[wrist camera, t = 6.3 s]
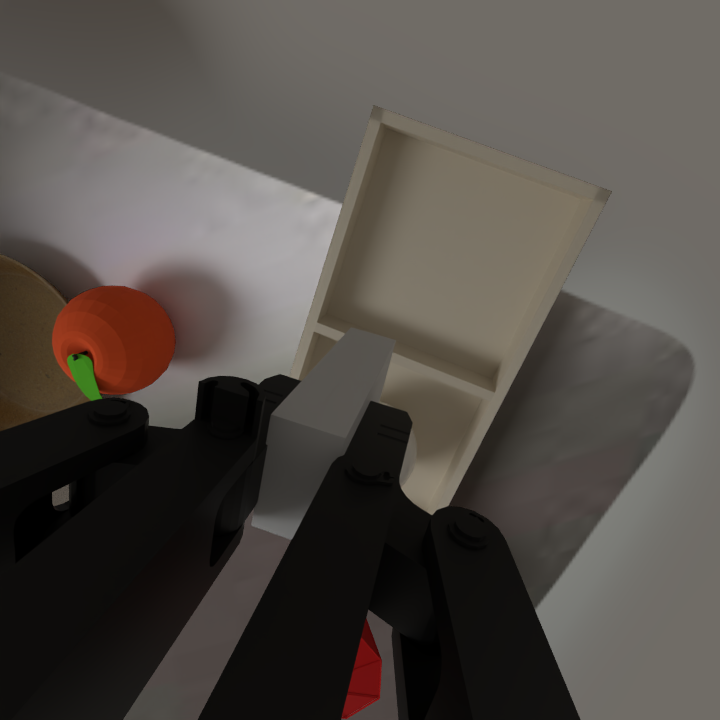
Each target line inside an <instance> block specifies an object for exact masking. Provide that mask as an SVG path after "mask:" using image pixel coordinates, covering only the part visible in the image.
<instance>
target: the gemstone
mask: <svg viewBox="0 0 720 720" xmlns="http://www.w3.org/2000/svg"><path fill="white" fill-rule="evenodd" d="M381 667H382V660H381V657H380V654H379V652H378V649H377V646H376V643H375V641H374V638H373V635H372V633H371V630H370V627H369V624H368V622H367V619H366V620H365V624H364V629H363V633H362V637H361V641H360V645H359V649H358V653H357V657H356V661H355V665H354V669H353V673H352V677H351V681H350V685H349V689H348V693H347V697H346V701H345V705H344V709H343V713H342V716H343V717H341V718H343V719H347V718H349V717H350V716H352V715H354V714H355V713H357V712H359V711H360V710H362V709H364V708H365V707H367V706H369V705H370V704H372V703H374V702H375V701H377V700H378V699H380V685H381ZM379 677H380V678H379ZM376 698H377V699H376ZM374 699H375V700H374ZM372 700H374V701H372ZM371 701H372V702H371ZM369 702H370V703H369ZM367 703H369V704H367ZM366 704H367V705H366ZM364 705H365V706H364ZM363 706H364V707H363ZM361 707H362V708H361ZM359 708H360V709H359ZM358 709H359V710H358ZM356 710H357V711H356ZM354 711H356V712H354ZM353 712H354V713H353ZM351 713H352V714H351ZM349 714H351V715H349ZM348 715H349V716H348Z"/></svg>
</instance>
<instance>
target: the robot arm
mask: <svg viewBox="0 0 720 720" xmlns="http://www.w3.org/2000/svg"><path fill="white" fill-rule="evenodd" d="M395 342H396V340H394V339H390V338H387V337H383V336H380V335H377V334H373V333H370V332H366V331H363V330H359V329H356V328H352V327H351V328H350V329H349V330H348V331H347V332H346V333H345V334H344V335H343V337H342V338H341V339H340V340H339V341H338V342H337V343H336V344H335V345H334V346H333V347H332V349H331V350H330V351H329V352H328V353H327V354H326V355H325V356H324V357H323V358H322V359H321V360H320V362H319V363H318V364H317V365H316V366H315V367H314V368H313V369H312V370H311V371H310V372H309V374H308V375H307V376H306V377H305V378H304V379H303V380H302V381H300V380H297V379H294V378H291V377H287V376H284V375H281V374H279V375H276V376H273V377H270V378H266V379H264V380H263V381H262V382H261V383H260V384H259V385H258V384H256V383H254V382H251V381H249V380H247V379H243V378H238V377H233V376H216V377H209V378H206V379H204V380H202V381H199V385H198V394H197V404H196V413H195V419H194V420H193V421H192V422H190V423H189V424H188V425H187V426H185V427H184V428H183V429H172V428H164V427H156V426H148V424H149V415H148V411H147V409H146V408H145V407H143V406H142V405H141V404H139V403H136V402H133V401H131V400H127V399H120V398H106V399H97V400H93V401H88V402H85V403H82V404H79V405H76V406H73V407H70V408H67V409H64V410H61V411H58V412H55V413H52V414H49V415H47V416H44V417H41V418H38V419H35V420H32V421H29V422H26V423H23V424H20V425H17V426H14V427H11V428H8V429H5V430H2V431H0V720H123V719H124V717H125V716H126V714H127V713H128V711H129V709H130V708H131V706H132V705H133V703H134V702H135V700H136V699H137V697H138V696H139V694H140V693H141V691H142V690H143V688H144V687H145V685H146V684H147V682H148V681H149V679H150V678H151V676H152V675H153V673H154V672H155V670H156V669H157V667H158V666H159V664H160V663H161V661H162V660H163V658H164V657H165V655H166V654H167V652H168V651H169V649H170V647H171V646H172V644H173V643H174V641H175V640H176V638H177V637H178V635H179V634H180V632H181V631H182V629H183V628H184V626H185V625H186V623H187V622H188V620H189V619H190V617H191V616H192V614H193V613H194V611H195V610H196V608H197V607H198V605H199V604H200V602H201V601H202V599H203V598H204V596H205V595H206V593H207V592H208V590H209V589H210V587H211V585H212V584H213V582H214V581H215V579H216V578H217V576H218V575H219V573H220V572H221V570H222V569H223V567H224V566H225V564H226V563H227V561H228V560H229V558H230V557H231V555H232V554H233V552H234V551H235V549H236V548H237V546H238V545H239V543H240V540H241V538H242V535H243V529H244V523H245V520H246V518H247V517H248V515H249V514H250V513H251V511H252V510H253V508H254V507H255V508H254V514H253V519H252V525H251V526H254V527H256V528H259V529H262V530H265V531H268V532H271V533H273V534H276V535H279V536H282V537H285V538H288V539H290V540H291V542H290V544H289V546H288V548H287V550H286V552H285V554H284V556H283V558H282V559H281V561H280V563H279V565H278V567H277V569H276V571H275V573H274V575H273V577H272V579H271V580H270V582H269V584H268V586H267V588H266V590H265V592H264V594H263V596H262V598H261V600H260V602H259V603H258V605H257V607H256V609H255V611H254V613H253V615H252V617H251V619H250V621H249V623H248V624H247V626H246V628H245V630H244V632H243V634H242V636H241V638H240V640H239V642H238V644H237V645H236V647H235V649H234V651H233V653H232V655H231V657H230V659H229V661H228V663H227V665H226V666H225V668H224V670H223V672H222V674H221V676H220V678H219V680H218V682H217V684H216V686H215V688H214V689H213V691H212V693H211V695H210V697H209V699H208V701H207V703H206V705H205V707H204V709H203V710H202V712H201V714H200V716H199V718H198V720H341V717H342V713H343V709H344V705H345V701H346V697H347V693H348V689H349V685H350V681H351V677H352V673H353V669H354V665H355V661H356V657H357V653H358V649H359V645H360V641H361V637H362V633H363V629H364V624H365V620H366V616H367V612H368V609H369V610H370V611H371V612H373V613H374V614H375V615H377V616H378V617H380V618H381V619H382V620H384V621H385V622H386V623H388V624H389V625H391V626H392V627H393V629H392V646H393V658H394V670H395V682H396V694H397V706H398V718H399V720H580V717H579V716H578V713H577V710H576V708H575V705H574V703H573V701H572V698H571V696H570V693H569V691H568V689H567V686H566V684H565V681H564V679H563V677H562V675H561V672H560V669H559V667H558V665H557V662H556V660H555V657H554V655H553V653H552V650H551V648H550V646H549V643H548V641H547V638H546V636H545V633H544V631H543V629H542V626H541V624H540V622H539V619H538V617H537V614H536V612H535V609H534V607H533V605H532V602H531V600H530V597H529V595H528V592H527V590H526V588H525V585H524V583H523V580H522V578H521V576H520V573H519V571H518V568H517V566H516V564H515V561H514V559H513V556H512V554H511V552H510V549H509V547H508V544H507V542H506V540H505V538H504V536H503V535H502V533H501V532H500V530H499V529H498V528H497V527H496V526H495V525H494V524H493V523H492V522H491V521H489V520H488V519H487V518H485V517H484V516H482V515H480V514H478V513H476V512H475V511H472V510H469V509H465V508H462V507H450V506H447V507H444V508H441V509H438V510H436V512H435V513H434V514H433V515H431V514H429V513H428V512H426V511H424V510H423V509H421V508H420V507H418V506H417V505H415V504H414V503H413V502H412V501H411V500H410V499H409V498H408V497H407V496H406V495H405V494H404V492H403V491H402V489H401V486H400V483H399V480H400V473H401V469H402V465H403V461H404V457H405V453H406V449H407V445H408V441H409V437H410V432H411V428H412V424H413V422H412V420H411V418H410V416H409V414H408V412H406V411H403V410H400V409H396V408H393V407H390V406H387V405H383V404H380V403H379V401H380V397H381V394H382V390H383V386H384V383H385V379H386V375H387V372H388V368H389V364H390V360H391V357H392V353H393V349H394V346H395ZM68 484H69V501H67V502H65V503H63V504H60V505H57V506H53V504H52V492H53V491H55V490H58V489H60V488H62V487H64V486H66V485H68Z"/></svg>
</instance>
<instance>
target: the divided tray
mask: <svg viewBox="0 0 720 720" xmlns="http://www.w3.org/2000/svg"><path fill="white" fill-rule="evenodd" d="M611 192H612V191H610V190H607V189H604V188H601V187H598V186H596V185H593V184H590V183H588V182H585V181H582V180H579V179H576V178H573V177H571V176H568V175H565V174H562V173H560V172H557V171H554V170H551V169H549V168H546V167H543V166H540V165H538V164H535V163H532V162H529V161H527V160H524V159H521V158H518V157H516V156H513V155H510V154H507V153H505V152H502V151H499V150H496V149H494V148H491V147H488V146H485V145H483V144H480V143H477V142H474V141H471V140H469V139H466V138H463V137H460V136H458V135H455V134H452V133H449V132H447V131H444V130H441V129H438V128H436V127H433V126H430V125H427V124H424V123H422V122H419V121H416V120H413V119H410V118H408V117H405V116H402V115H400V114H397V113H394V112H391V111H388V110H386V109H383V108H380V107H378V106H375V105H374V106H373V109H372V112H371V116H370V119H369V122H368V125H367V128H366V132H365V135H364V138H363V141H362V144H361V148H360V151H359V154H358V157H357V160H356V164H355V167H354V170H353V173H352V177H351V180H350V183H349V186H348V189H347V193H346V196H345V199H344V202H343V205H342V209H341V212H340V215H339V218H338V221H337V225H336V228H335V231H334V234H333V238H332V241H331V244H330V247H329V250H328V254H327V257H326V260H325V263H324V266H323V270H322V273H321V276H320V279H319V283H318V286H317V289H316V292H315V295H314V299H313V302H312V305H311V308H310V311H309V315H308V318H307V321H306V324H305V327H304V331H303V334H302V337H301V340H300V344H299V347H298V350H297V353H296V356H295V360H294V363H293V366H292V369H291V372H290V376H289V377H291V378H294V379H297V380H300V381H302V380H303V379H304V378H305V377H306V376H307V375H308V374H309V372H310V371H311V370H312V369H313V368H314V367H315V366H316V365H317V364H318V363H319V362H320V360H321V359H322V358H323V357H324V356H325V355H326V354H327V353H328V352H329V351H330V350H331V349H332V347H333V346H334V345H335V344H336V343H337V342H338V341H339V340H340V339H341V338H342V337H343V335H344V334H345V333H346V332H347V331H348V330H349V329H350V328H351V327H352V328H356V329H359V330H363V331H366V332H370V333H373V334H377V335H380V336H383V337H387V338H390V339H394V340H396V342H395V346H394V349H393V353H392V357H391V360H390V364H389V368H388V372H387V375H386V379H385V383H384V386H383V390H382V394H381V397H380V401H381V402H384V403H387V404H389V405H391V406H393V407H394V408H396V409H400V410H403V411H406V412H408V414H409V416H410V418H411V420H412V422H413V424H412V429H413V431H414V434H415V438H416V442H417V458H416V463H415V466H414V469H413V471H412V473H411V475H410V477H409V478H408V480H407V481H406V482H405V484H404V485H403V486H402V487H401V489H402V491H403V492H404V494H405V495H406V496H407V497H408V498H409V499H410V500H411V501H412V502H413V503H414V504H415V505H417V506H418V507H420V508H421V509H423V510H424V511H426V512H428V513H429V514H431V515H433V514H434V513H435V512H436V510H438V509H441V508H444V507H447V506H448V505H449V504H450V502H451V500H452V498H453V496H454V494H455V492H456V490H457V488H458V486H459V484H460V482H461V480H462V479H463V477H464V475H465V473H466V471H467V469H468V467H469V465H470V463H471V461H472V459H473V457H474V456H475V454H476V452H477V450H478V448H479V446H480V444H481V442H482V440H483V438H484V436H485V434H486V432H487V431H488V429H489V427H490V425H491V423H492V421H493V419H494V417H495V415H496V413H497V411H498V409H499V407H500V406H501V404H502V402H503V400H504V398H505V396H506V394H507V392H508V390H509V388H510V386H511V384H512V383H513V381H514V379H515V377H516V375H517V373H518V371H519V369H520V367H521V365H522V363H523V361H524V359H525V358H526V356H527V354H528V352H529V350H530V348H531V346H532V344H533V342H534V340H535V338H536V336H537V334H538V333H539V331H540V329H541V327H542V325H543V323H544V321H545V319H546V317H547V315H548V313H549V311H550V310H551V308H552V306H553V304H554V302H555V300H556V298H557V296H558V294H559V292H560V290H561V288H562V286H563V284H564V283H565V280H566V279H567V277H568V275H569V273H570V271H571V269H572V267H573V265H574V263H575V261H576V260H577V258H578V256H579V254H580V252H581V250H582V248H583V246H584V244H585V242H586V240H587V238H588V237H589V234H590V233H591V231H592V229H593V227H594V225H595V223H596V221H597V219H598V217H599V215H600V213H601V211H602V209H603V208H604V205H605V204H606V202H607V200H608V198H609V196H610V194H611Z"/></svg>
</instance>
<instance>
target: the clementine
mask: <svg viewBox="0 0 720 720" xmlns="http://www.w3.org/2000/svg"><path fill="white" fill-rule="evenodd" d="M175 343H176V342H175V333H174V329H173V326H172V323H171V320H170V318H169V317H168V315H167V314H166V312H165V310H164V309H163V308H162V307H161V306H160V305H159V304H158V303H157V302H156V301H155V300H154V299H153V298H151V297H150V296H148V295H146V294H145V293H142V292H140V291H137V290H134V289H131V288H128V287H125V286H101V287H97V288H93V289H90V290H87V291H85V292H83V293H81V294H79V295H78V296H76V297H75V298H73V299H72V300H70V301H69V303H68V304H67V305H66V306H65V307H64V308H63V309H62V311H61V312H60V313H59V315H58V316H57V319H56V322H55V325H54V329H53V333H52V346H53V351H54V355H55V357H56V359H57V362H58V364H59V365H60V367H61V368H62V370H63V371H64V372H65V374H67V375H68V376H69V377H70V378H71V379H72V380H73V381H74V382H76V383H77V385H78V387H79V388H80V389H81V391H82V392H83V393H84V394H85V396H87V397H88V398H89V399H90V400H91V401H93V400H97V399H103V398H102V396H101V395H100V393H102V394H111V395H112V394H127V393H132V392H135V391H138V390H140V389H143V388H145V387H147V386H149V385H150V384H152V383H153V382H155V381H156V380H157V379H158V378H159V377H160V376H161V375H162V374H163V373H164V372H165V371H166V370H167V368H168V365H169V363H170V361H171V359H172V357H173V354H174V349H175Z"/></svg>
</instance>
